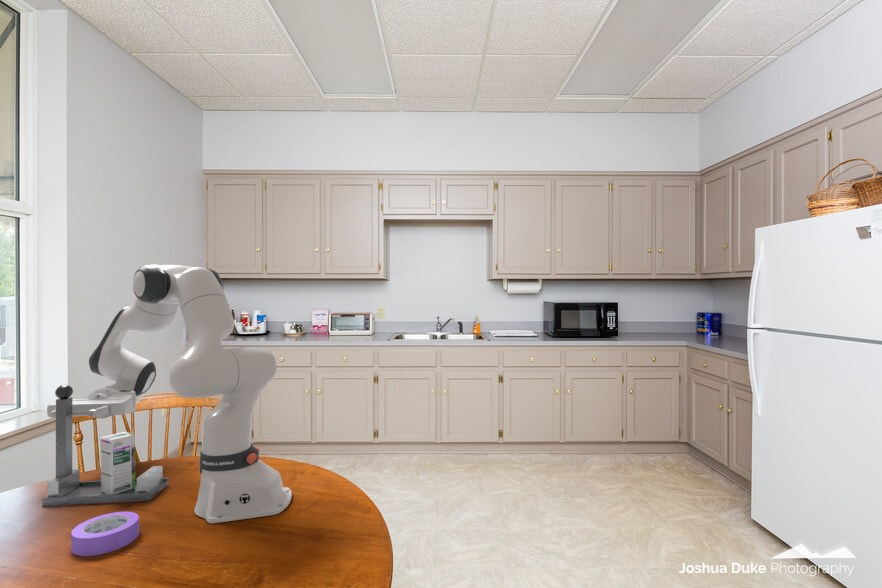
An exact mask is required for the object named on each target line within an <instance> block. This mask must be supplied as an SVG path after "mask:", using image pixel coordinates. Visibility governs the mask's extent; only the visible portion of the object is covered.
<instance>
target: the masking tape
mask: <svg viewBox="0 0 882 588" xmlns="http://www.w3.org/2000/svg"><path fill="white" fill-rule="evenodd" d="M139 535H140V516H139V514H138V513H136V512H133V511H116V512H111V513H106V514H105V513H104V514H102V515H98V516H95V517H93V518H90V519H87V520H85V521H83V522H81V523H79V524H78V525H76V526H75V527H74V528H73V529H72V530H71V537H70V538H71V540H70V541H71V542H70V543H71V544H70V547H71V548H70V550H71V551H70V552H71V553H72V554H73V553H74V554H73V555H75V556H78V555H79V557H93V556H99V555H104V554H108V553H111V552H114V551H117V550H119V549H122V548H123V547H126V546H128V545H129V544H131V543H132V542H134V541H135V540H136V539H138V537H139Z"/></svg>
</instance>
